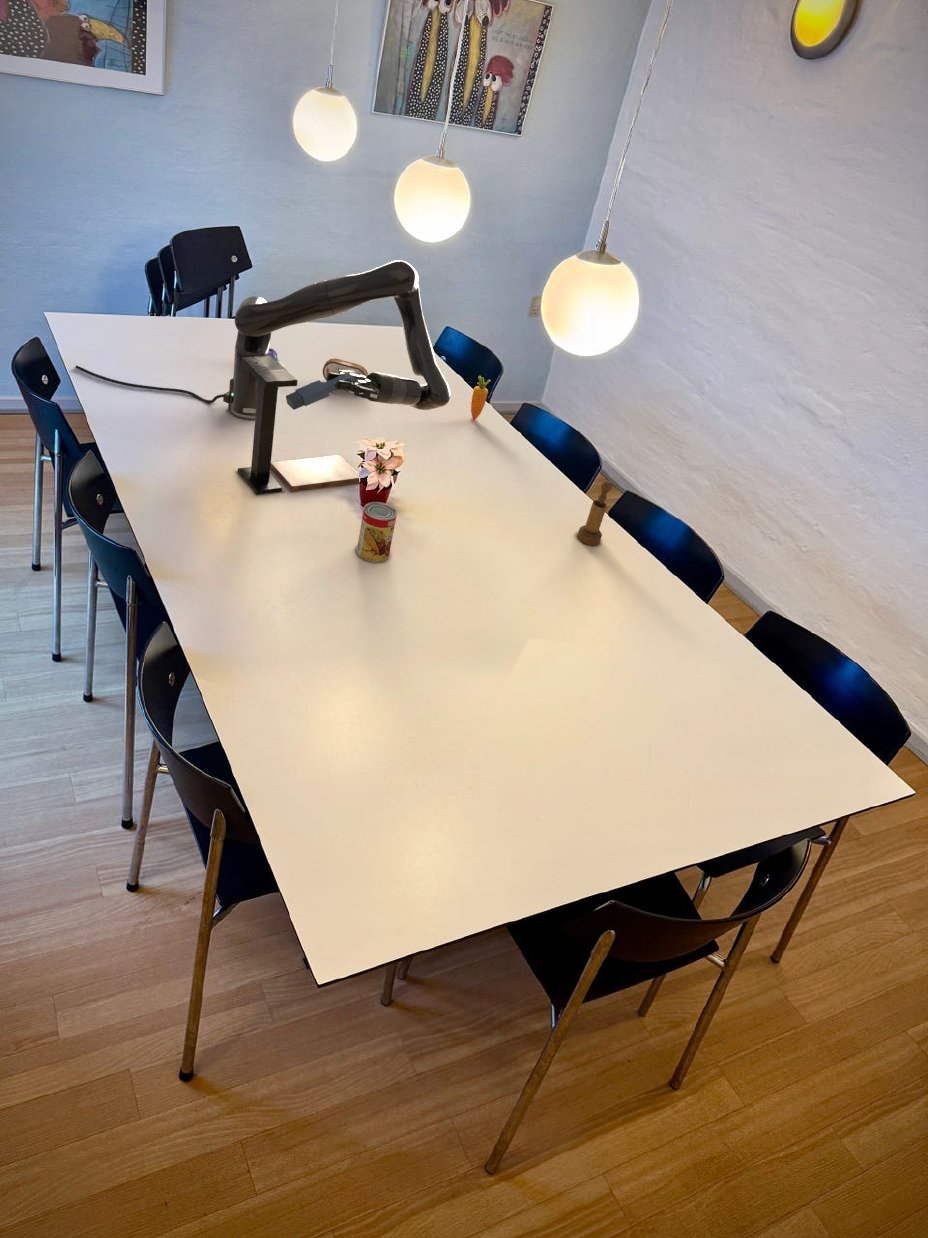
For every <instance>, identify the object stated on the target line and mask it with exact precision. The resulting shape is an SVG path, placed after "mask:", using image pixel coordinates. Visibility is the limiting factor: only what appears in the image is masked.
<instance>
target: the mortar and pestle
mask: <svg viewBox="0 0 928 1238" xmlns="http://www.w3.org/2000/svg"><path fill="white" fill-rule="evenodd" d="M612 489H613V483H612V482H611V481H610V480H603V481H602V482H601V484H600V490H601V493H600V494H598V495H597V500H593V501H592V503H591V507H590V510H589V513H588V515H587V519H586V523H585V525H582V526H580V527H579V529H578V531H577V533H576V538H577V539H578V541H580V543H583V544H585V545H588V546H597V545H599V544H600V542H601V539H602V537H603V533H602V531H601V530H600V528H601V525H602V522H603V519H604V516H605V514H606V511H607V508H608V504H607V503H605V502H606V500H607V498H608V497H607V496H608V495H607V494H609V492H610V491H611V490H612Z"/></svg>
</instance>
